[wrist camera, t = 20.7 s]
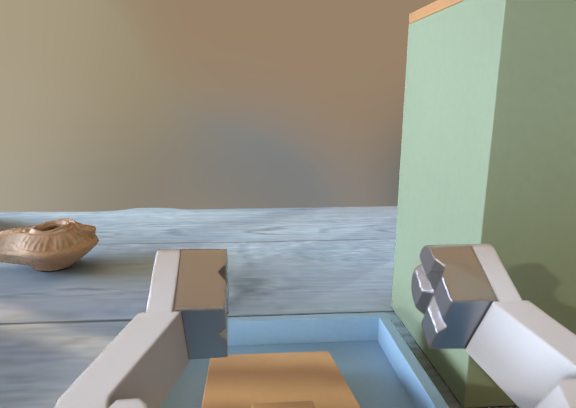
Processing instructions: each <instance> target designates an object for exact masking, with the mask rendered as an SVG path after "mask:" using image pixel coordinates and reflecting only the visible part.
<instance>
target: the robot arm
mask: <svg viewBox="0 0 576 408" xmlns="http://www.w3.org/2000/svg"><path fill="white" fill-rule="evenodd" d="M419 257H420V260H421V262H422V263H421V264H420V265H419V266H417V267H416V268H415V269H414V272H413V275H412V282H411V291H412V297H413V301H414V304H415V307H416V308H417V309H418V310H419V311H420V312H421V313H423V314H424V318H423V320H422V323H421V325H422V328H423V331H424V334H425V337H426V340H427V343H428V346H429V349H465V351H466V352H467V353H468V354H469V355H470V356H471V357H472V358H473V359H474V361H475V362H476V363H477V364H478V365H479V366H480V367H481V368H482V369H483V370H484V371H485V372H486V373H487V374H488V375H489V376H490V377H491V378H492V379H493V381H494V382H495V383H496V384H497V385H498V386H499V387H500V388H501V389H502V390H503V391H504V392H505V393H506V394H507V395H508V396H509V397H510V398H511V399H512V401H513V402H514V403H515V404H516V405H517V406H518V407H519V408H576V335H575V334H574V333H572V332H571V331H570V330H568V329H567V328H566V327H564V326H563V325H562V324H560V323H559V322H557V321H556V320H555V319H553V318H552V317H551V316H549V315H548V314H547V313H545V312H544V311H543V310H541V309H540V308H538V307H537V306H536V305H534V304H533V303H532V302H530V301H529V300H522V299H521V297H520V295H519V293H518V291H517V289H516V287H515V286H514V284H513V282H512V280H511V278H510V276H509V275H508V273H507V271H506V269H505V267H504V265H503V263H502V262H501V260H500V258H499V256H498V254H497V252H496V251H495V249H494V247H493V246H492V245H491V244H444V245H425V246H424V247H423V248H422V250H421V253H420V255H419ZM227 269H228V259H227V249H158V251H157V253H156V256H155V262H154V268H153V273H152V279H151V285H150V291H149V297H148V303H147V309H146V312H139V313H138V314H137V315H136V316H135V317H134V318H133V319H132V320H131V321H130V322H129V324H128V325H127V326H126V327H125V328H124V329H123V330H122V331H121V332H120V333H119V334H118V335H117V336H116V337H115V339H114V340H113V341H112V342H111V343H110V344H109V345H108V346H107V347H106V348H105V349H104V350H103V351H102V352H101V353H100V355H99V356H98V357H97V358H96V359H95V360H94V361H93V362H92V363H91V364H90V365H89V366H88V367H87V368H86V370H85V371H84V372H83V373H82V374H81V375H80V376H79V377H78V378H77V379H76V380H75V381H74V382H73V383H72V385H71V386H70V387H69V388H68V389H67V390H66V391H65V392H64V393H63V394H62V395H61V396H60V397H59V398H58V399H57V402H56V405H55V408H159V406H160V405H161V403H162V402H163V400H164V399H165V397H166V396H167V394H168V393H169V391H170V390H171V388H172V387H173V385H174V384H175V382H176V381H177V379H178V378H179V376H180V375H181V373H182V372H183V370H184V369H185V367H186V366H187V364H188V363H189V360H191V359H206V358H221V357H228V308H229V286H228V272H227Z"/></svg>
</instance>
